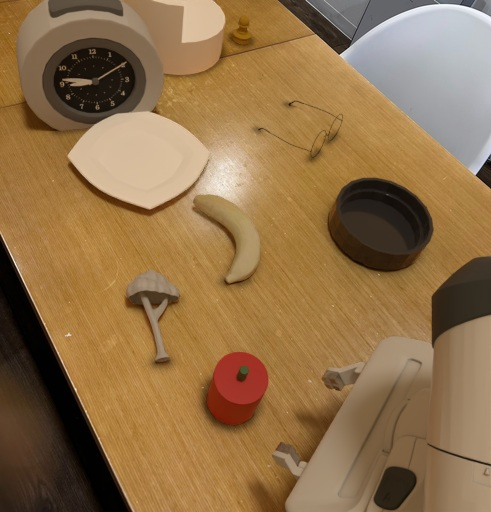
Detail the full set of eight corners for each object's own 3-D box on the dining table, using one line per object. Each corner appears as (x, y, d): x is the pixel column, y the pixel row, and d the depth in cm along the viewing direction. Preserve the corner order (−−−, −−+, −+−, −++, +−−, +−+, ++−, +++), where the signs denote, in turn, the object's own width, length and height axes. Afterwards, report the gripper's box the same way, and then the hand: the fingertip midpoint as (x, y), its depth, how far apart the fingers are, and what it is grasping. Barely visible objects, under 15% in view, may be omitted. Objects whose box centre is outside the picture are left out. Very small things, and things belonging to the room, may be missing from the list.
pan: (437, 238, 80) (450, 220, 77) (385, 289, 73) (398, 272, 69) (364, 183, 85) (373, 164, 82) (308, 225, 77) (316, 206, 74)
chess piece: (229, 34, 105) (232, 11, 101) (246, 33, 106) (250, 11, 102) (235, 45, 103) (239, 22, 99) (252, 44, 104) (257, 21, 100)
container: (230, 75, 97) (241, 8, 86) (125, 74, 92) (123, 3, 81) (211, 18, 108) (218, -47, 97) (116, 15, 102) (113, -55, 92)
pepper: (266, 401, 60) (283, 372, 53) (231, 435, 57) (244, 409, 49) (232, 366, 62) (244, 333, 54) (196, 397, 59) (203, 367, 51)
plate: (224, 160, 83) (226, 151, 81) (151, 230, 72) (151, 222, 70) (133, 105, 86) (133, 96, 85) (50, 165, 75) (48, 156, 74)
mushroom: (140, 355, 56) (128, 262, 61) (130, 368, 60) (119, 278, 65) (197, 350, 60) (180, 262, 65) (184, 362, 63) (169, 278, 68)
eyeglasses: (254, 132, 88) (259, 109, 84) (291, 102, 95) (298, 79, 91) (306, 165, 85) (315, 142, 81) (340, 131, 92) (350, 109, 88)
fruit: (234, 197, 78) (237, 182, 76) (272, 274, 71) (277, 260, 68) (191, 206, 76) (192, 191, 73) (226, 286, 68) (229, 273, 66)
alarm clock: (31, 133, 79) (3, 13, 63) (26, 103, 83) (-1, -18, 67) (162, 121, 86) (167, 10, 70) (152, 94, 90) (155, -18, 74)
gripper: (472, 326, 43) (340, 317, 53) (374, 548, 31) (228, 482, 41) (491, 377, 45) (361, 359, 55) (406, 599, 34) (261, 526, 44)
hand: (303, 413), depth 48 cm, fingers open, 8 cm apart
